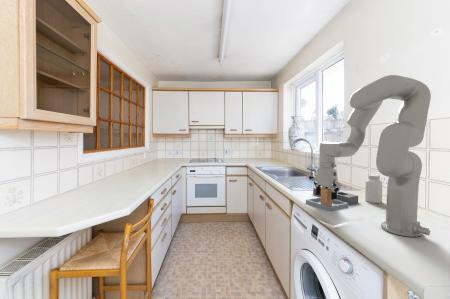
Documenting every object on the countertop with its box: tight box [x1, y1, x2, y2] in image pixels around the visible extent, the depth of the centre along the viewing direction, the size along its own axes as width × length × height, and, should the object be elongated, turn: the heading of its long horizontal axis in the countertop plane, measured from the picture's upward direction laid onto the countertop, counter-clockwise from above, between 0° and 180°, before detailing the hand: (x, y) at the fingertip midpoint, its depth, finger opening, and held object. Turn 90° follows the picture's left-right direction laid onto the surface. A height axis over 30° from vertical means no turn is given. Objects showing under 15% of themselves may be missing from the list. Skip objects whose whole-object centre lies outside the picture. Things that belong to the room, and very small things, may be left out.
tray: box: [305, 196, 349, 212], centre depth 117 cm, size 15×15×3 cm
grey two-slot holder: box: [312, 186, 359, 205], centre depth 129 cm, size 24×8×4 cm, turn 25°
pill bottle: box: [364, 174, 383, 204], centre depth 124 cm, size 8×8×15 cm
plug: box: [320, 186, 332, 206], centre depth 116 cm, size 4×4×11 cm
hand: (325, 196), depth 117 cm, fingers open, 9 cm apart
